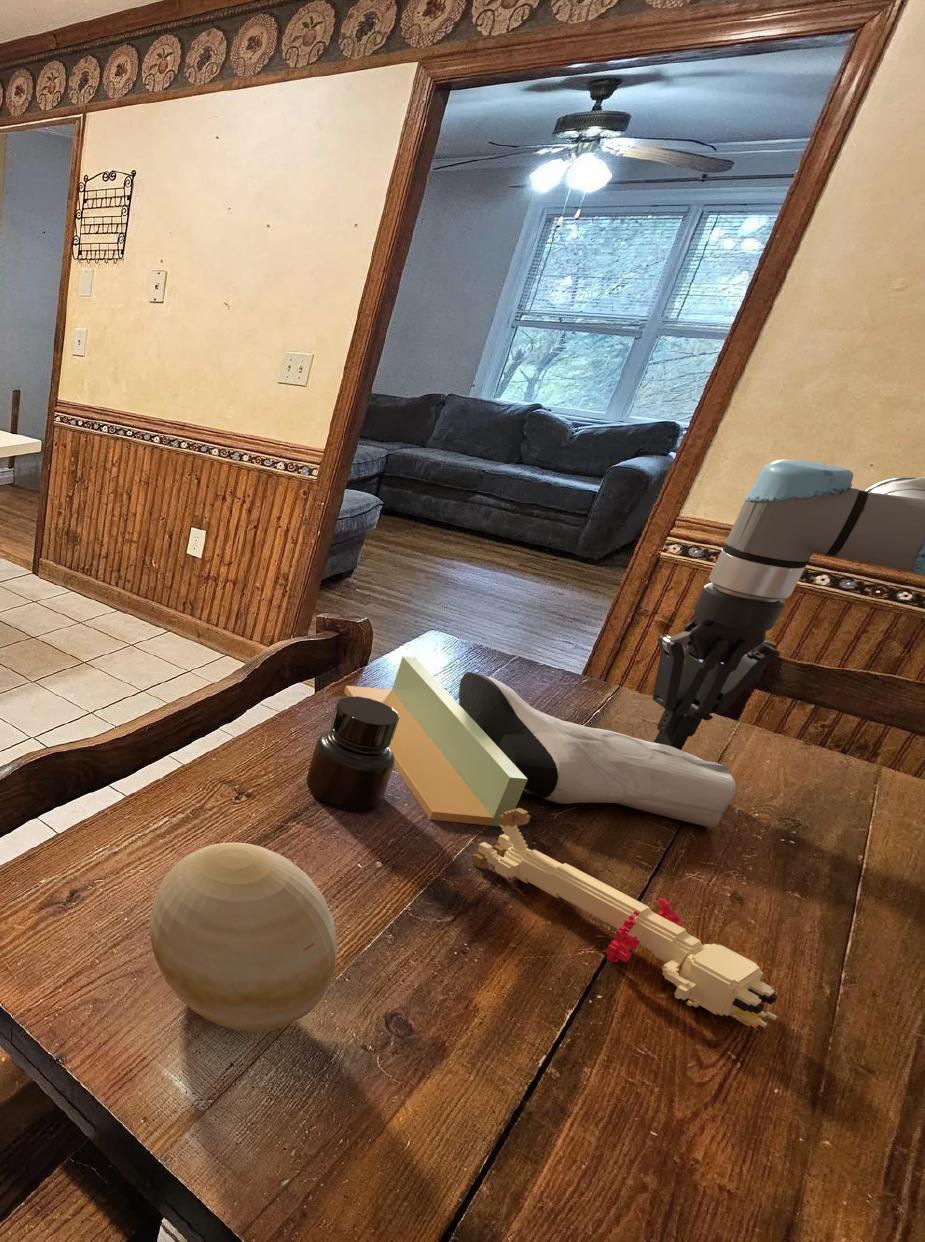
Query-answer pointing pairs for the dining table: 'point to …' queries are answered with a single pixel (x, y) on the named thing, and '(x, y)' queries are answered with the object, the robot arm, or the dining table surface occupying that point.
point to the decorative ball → (243, 937)
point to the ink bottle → (354, 755)
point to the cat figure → (638, 929)
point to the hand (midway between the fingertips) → (663, 754)
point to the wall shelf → (445, 751)
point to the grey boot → (596, 759)
